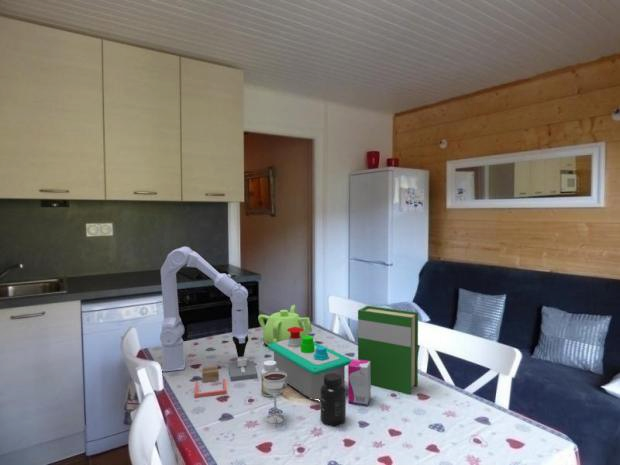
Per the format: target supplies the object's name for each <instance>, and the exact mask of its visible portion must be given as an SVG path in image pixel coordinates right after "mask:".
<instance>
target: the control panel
mask: <svg viewBox="0 0 620 465" xmlns="http://www.w3.org/2000/svg"><path fill="white" fill-rule="evenodd" d="M287 331H288V332H290V334H291V336H289V339H288V340H284V341H280V342H276V343H271V344H269V345H267V349H268V350H269V351H270V350H271V351H272V352H273V361H276V368H277V369H278V370H279V371H283V372H285V373H286V374H287V377H286V379H287V385H289V386H291V387H292V388H293V389H295V390H297V392H300V393H301V394H303V395H304V396H305V395H306V396H305V397H307V396H308V397H309V398H308V397H307V398H308V399H310V398H312V399H319V400H320V390H321V387H322V386H323V385H324V376H325V375H326V374H329V373H336V374H339V375H341V376H342V385H343V386H344V387H345V386H346V384H345V382H346V380H345V378H346V377H345V376H346V372H345V369H346V368H345V367H346V366H348V365H349V364H350V363H351V361H352V359H353V358H350V357H347V356H346V355H344V354H341V353H339V352H337V351H334V350H333V349H330V348H328V347H326V346H325V345H322V344H319V343H317V342H316V341H314V337H313V336H312V335H307V336H303V337H302V336H300V332H301V331H303V329H302V328H299V327H292V328H289V329H287ZM346 397H348V394H347V393H346ZM318 403H319V404H320V402H318Z"/></svg>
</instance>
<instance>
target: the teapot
mask: <svg viewBox="0 0 620 465" xmlns="http://www.w3.org/2000/svg"><path fill="white" fill-rule="evenodd" d="M295 310H296V305H295V304H292V305H291V306H290V310H288V309H280V310H279V312H275V313H272V314H271V315H268V314H267V315H266V314H259V315H258V317H257V320H258V323H259V325H260V326H261V328H262V330H263V335H262V339H263V342H264V343H265V344H266V346H268V345H269V344H271V343H276V342H280V341H284V340H288V339H289V336H291V334H290V332H288V331H287V329H289V328H292V327H299V328H302V329H303V331H301V332H300V336H302V337H303V336H309V334H311V333H312V332H313V328H312V324H311V321H310V317H307V316H306V317H304V316H303V317H300V316H299V314H298V313H296V311H295ZM264 319H265V320H267V321H266V324H265V321H264Z"/></svg>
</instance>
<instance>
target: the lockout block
mask: <svg viewBox="0 0 620 465" xmlns="http://www.w3.org/2000/svg"><path fill="white" fill-rule="evenodd" d="M201 370H202V372H201V373H202V376H201V377H202V383H203V384H205V383H213V382H219V376H220V375H219V368H218V365H211V366H210V365H209V366H202V368H201Z"/></svg>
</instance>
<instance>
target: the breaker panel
mask: <svg viewBox="0 0 620 465" xmlns="http://www.w3.org/2000/svg"><path fill="white" fill-rule="evenodd" d="M246 361H247V366H241V367H238V364H237V361H236V362H230V363H228V372H229V379H230V380H229V381H230V382H235V381H244V380H252V379H258V378H259V376H258V371H257V367H256V365H255V362H254V360H249V361H248V360H246Z"/></svg>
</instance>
